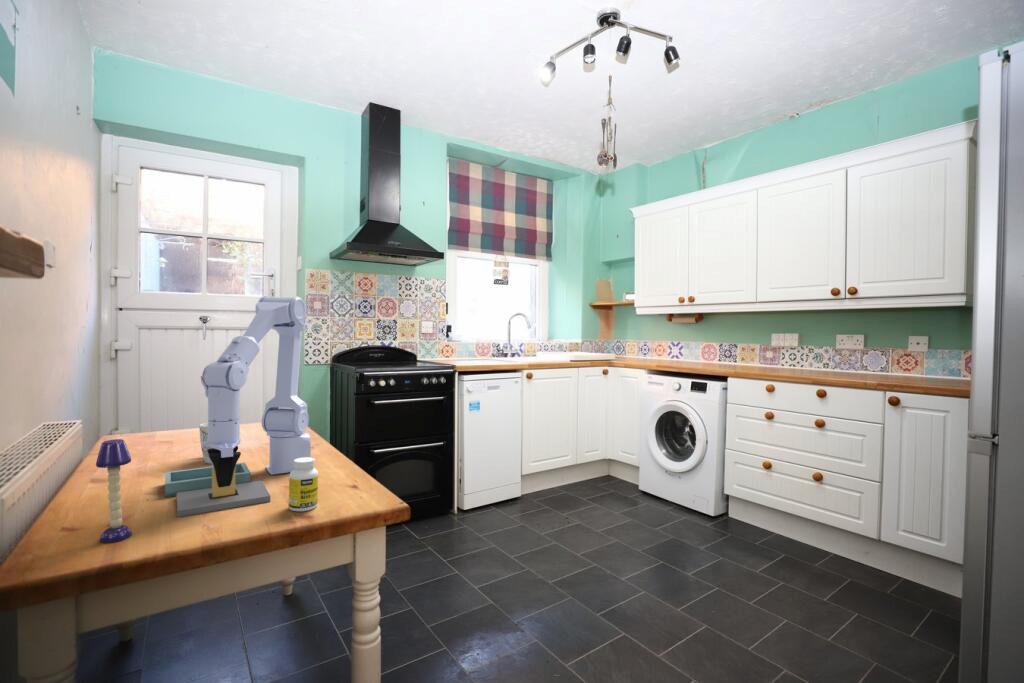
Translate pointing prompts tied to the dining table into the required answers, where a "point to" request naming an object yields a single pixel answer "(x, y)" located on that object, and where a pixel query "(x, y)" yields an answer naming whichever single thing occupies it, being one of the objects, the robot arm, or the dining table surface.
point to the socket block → (221, 499)
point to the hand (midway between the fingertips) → (223, 483)
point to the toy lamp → (114, 487)
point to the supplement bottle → (303, 485)
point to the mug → (204, 437)
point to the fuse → (222, 490)
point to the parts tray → (199, 479)
